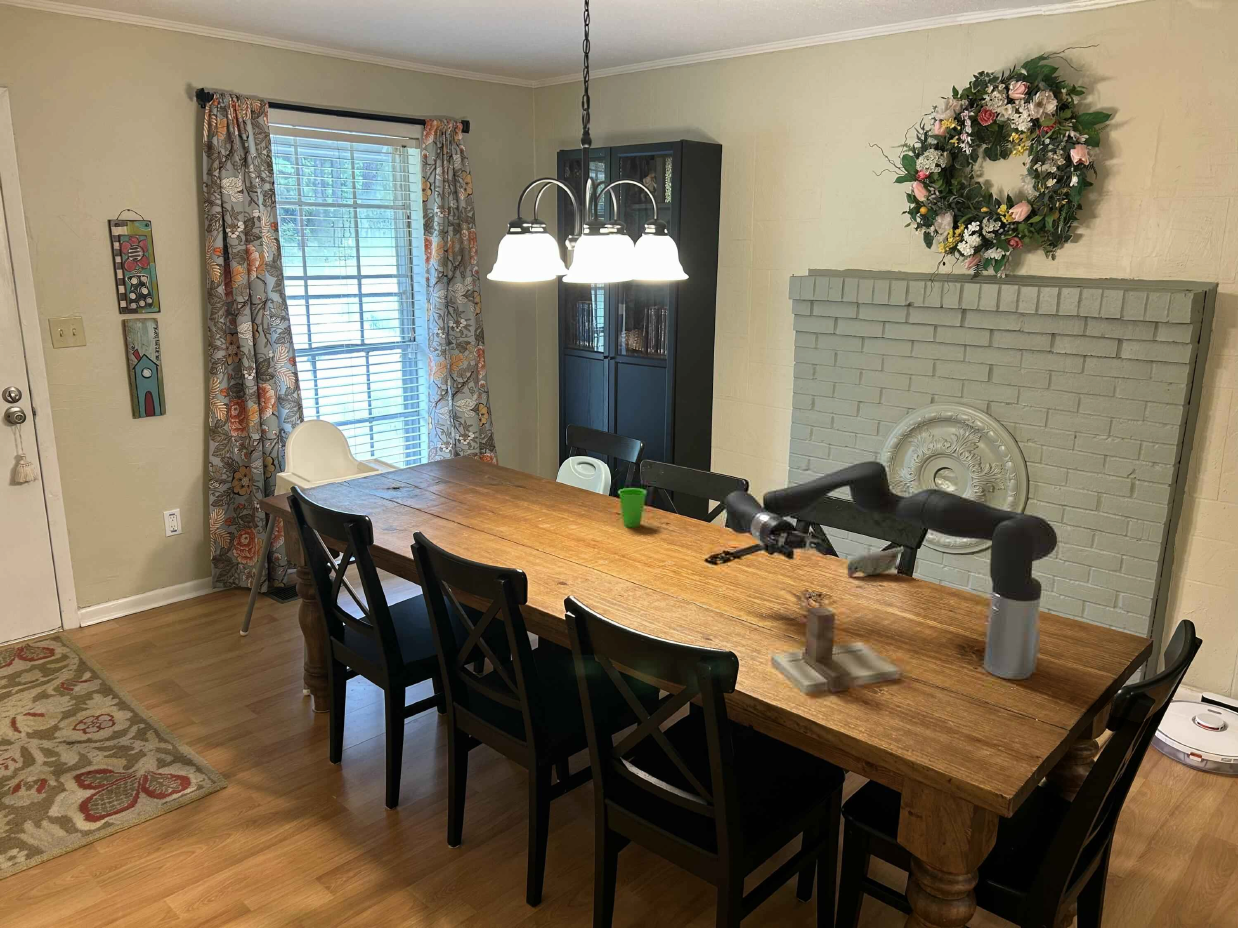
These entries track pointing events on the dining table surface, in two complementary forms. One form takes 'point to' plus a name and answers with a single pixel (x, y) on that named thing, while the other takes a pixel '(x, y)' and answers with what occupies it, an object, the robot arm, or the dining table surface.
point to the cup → (632, 505)
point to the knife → (731, 554)
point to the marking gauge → (824, 648)
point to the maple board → (849, 656)
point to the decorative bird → (875, 562)
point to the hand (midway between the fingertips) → (809, 553)
